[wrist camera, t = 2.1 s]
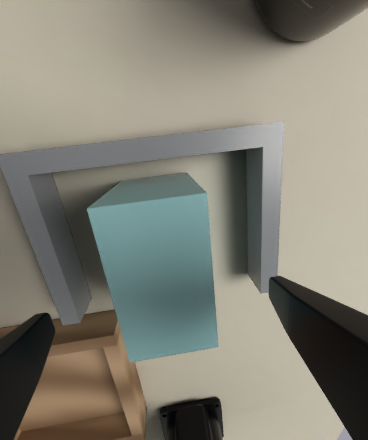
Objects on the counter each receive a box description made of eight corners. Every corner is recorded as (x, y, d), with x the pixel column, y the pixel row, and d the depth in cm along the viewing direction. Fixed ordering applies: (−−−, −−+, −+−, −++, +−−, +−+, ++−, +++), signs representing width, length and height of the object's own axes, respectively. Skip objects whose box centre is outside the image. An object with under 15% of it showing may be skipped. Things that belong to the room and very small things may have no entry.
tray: (146, 407, 22) (144, 440, 19) (18, 431, 21) (-1, 468, 19) (120, 309, 18) (113, 335, 15) (-43, 335, 17) (-77, 367, 14)
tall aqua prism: (197, 279, 18) (219, 359, 11) (144, 288, 17) (133, 375, 11) (186, 172, 15) (206, 192, 8) (121, 180, 14) (86, 208, 8)
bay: (261, 271, 18) (276, 290, 15) (76, 300, 17) (62, 325, 15) (263, 126, 14) (284, 121, 12) (25, 153, 13) (-5, 154, 11)
